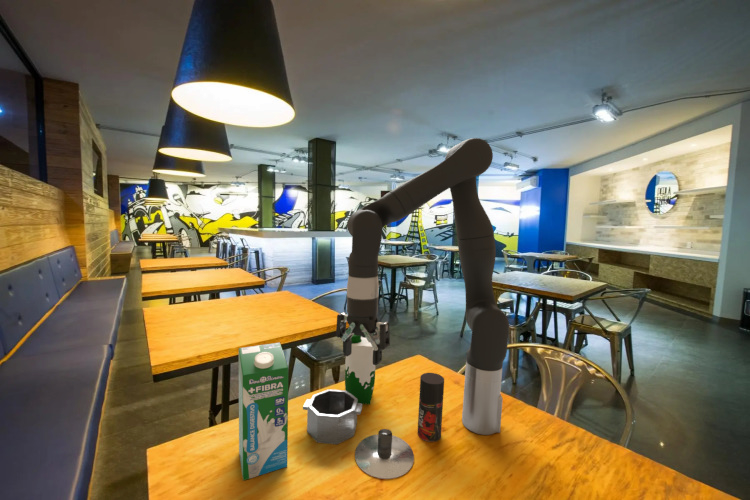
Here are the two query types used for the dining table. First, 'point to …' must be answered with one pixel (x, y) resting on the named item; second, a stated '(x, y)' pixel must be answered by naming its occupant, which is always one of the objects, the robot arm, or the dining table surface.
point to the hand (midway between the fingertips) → (361, 359)
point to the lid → (384, 455)
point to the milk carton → (263, 409)
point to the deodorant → (430, 407)
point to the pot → (332, 416)
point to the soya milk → (360, 370)
